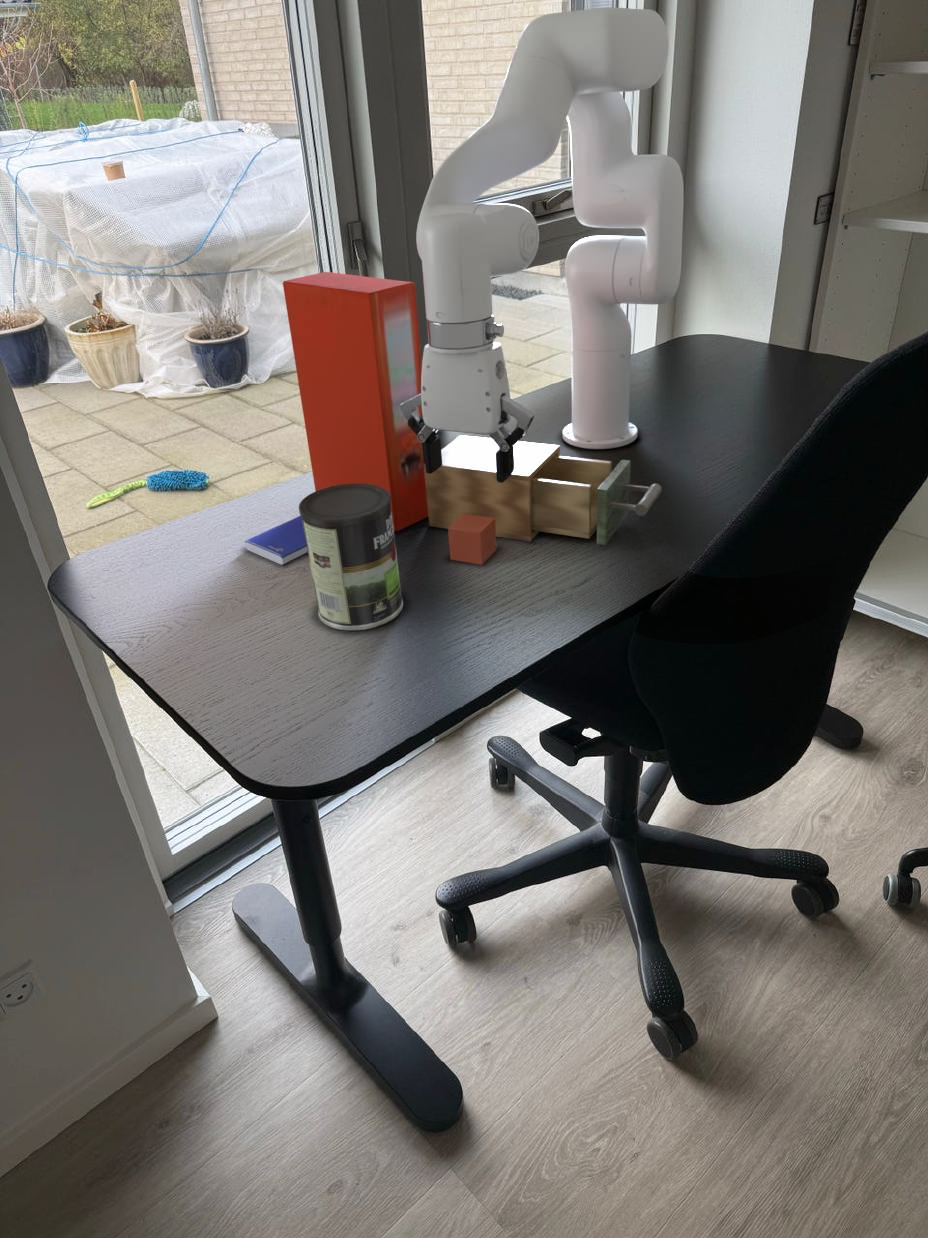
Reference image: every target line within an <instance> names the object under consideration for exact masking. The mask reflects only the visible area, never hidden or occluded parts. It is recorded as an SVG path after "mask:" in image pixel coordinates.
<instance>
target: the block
mask: <svg viewBox="0 0 928 1238" xmlns="http://www.w3.org/2000/svg"><path fill="white" fill-rule="evenodd" d="M447 533H448V546H449V557H450V561H457V562H462V563H468V564H475V565H481V566H483V565H484V563H486V561H487V560H489V558H490V557H491V556H492V555H493V554H494V553H495V552H496V551H497V548H498V547H497V536H496V529H495V518H490V517H483V516H476V515H469V514H463V515H461V516H460V517H459V518H458V519H457V520H456V521H455V522H454V523H453V524H452V525H451V526H450V527H449V528H448V529H447Z"/></svg>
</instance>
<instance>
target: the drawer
mask: <svg viewBox="0 0 928 1238" xmlns="http://www.w3.org/2000/svg"><path fill="white" fill-rule="evenodd" d="M612 462H613V461H611V460H602V459H592V458H584V457H574V456H566V455H565V456H564V455H560V456H557V455H554V456H553V457H552V458H551V459H550V460H549V461H548V462H547V463H546V464H545V465H544V466H543V467H542V468H541V469H540V470H539V471H538V472H537V473H536V474H535V475H534V476H533V477H532V478H531V479H530V480H531V508H532V530H534V531H539V532H542V533H548V534H554V535H563V536H568V537H576V538H583V539H590V538H591V537H592V536H593V534H594V533H595V532H596V545H603V546H606V545H607V544H608V542H610V540H611V539H612V537H613V535H615V532H616V531H617V530H618V529H619V527H621V524H622V523H623V521H625V519H626V517H627V516H628V515H629V512H630V511H632V512H635V514H636V515H637V516H639V517H643V516H646V515H647V514H648V512H649V511H650V509H651V508H652V506H653V505H654V503H655V502H656V501H657V499H658V498H659V496H660V495H661V493H662V491H663V488H662V486H661V485H660V484H659V483H652V484H651V485H650V486H645V485H637V484H630V483H631V482H630V480H631V460H628V459H621V460H620V461H619V463H617V465H616V466H615V468H614V469H613V470H612V467H613V466H612V464H613V463H612ZM630 491H633V492H641V493H644V494H643V495H642V496H641V498H640V499H639V501H638V502H637V504H632V503H630Z"/></svg>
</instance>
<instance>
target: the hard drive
mask: <svg viewBox="0 0 928 1238" xmlns="http://www.w3.org/2000/svg"><path fill="white" fill-rule="evenodd" d="M244 544H245V548H246V550H248V551H249V552H251V553H253V554H255V555H258V556H260V557H263V558H265V559H267V560H270V561H271V562H274V563H277V564H278V565H281V566H282V565H285V564H287V563H289V562H291V561H293V560H296V559H297V558H299V557H301V556H303V555H305V554H308V549H307V544H306V539H305V533H304V527H303V522H302V517H301V515H299V516H297V517H294V518H292V519H290V520H288V521H286V522H283V523H280V524H279V525H277V526H274V527H272V528H270V529H268V530H266V531H264V532H261V533H259V534H257V535H254V536H253V537H250V538H248V539H246V540H245V541H244Z"/></svg>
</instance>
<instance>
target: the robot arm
mask: <svg viewBox="0 0 928 1238" xmlns="http://www.w3.org/2000/svg"><path fill="white" fill-rule="evenodd" d="M516 43H517V44H516V46H515V50H514V52H513V54H512V58H511V60H510V64H509V66H508V69H507V72H506V75H505V78H504V81H503V84H502V86H501V89H500V93H499V95H498V97H497V100H496V102H495V107H494V109H493V112H492V115H491V116H490V118H489V119H488V120H487V121H485V123H484V124H482V125H481V126H479V127H478V128H477V129H476V130H475V131H473V132H472V133H471V134H470V135H469V136H468V137H467V138H465V140H464V141H462V142H461V143H460V144H459V145H458V146H457V147H456V148H455V149H454V150H453V151H452V152H451V153H450V154H448V156H447V157H446V158H445V159H444V160H443V162H442V163H441V164H440V165H439V167H438V168H437V170H436V172H435V173H434V175H433V177H432V179H431V182H430V184H429V187H428V190H427V193H426V195H425V198H424V201H423V204H422V207H421V210H420V212H419V216H418V222H417V227H416V234H415V235H416V236H415V237H416V239H415V241H416V249H417V253H418V256H419V258H420V260H421V267H422V280H423V294H424V304H425V318H426V329H427V330H426V331H427V342H428V343H427V344H425V345H424V346H423V354H422V359H421V365H422V372H421V393H420V394H418V395H416V396H414V397H412V398H410V399H408V400H406V401H405V402H403V403H401V404H400V409H401V411H402V413H403V415H404V416H405V418H406V419H407V421H408V426H409V427H410V428H411V429H412V430H413V432H414V433H415V434H416V435H417V439H418V441H419V442H421V443H422V449H423V461H424V464H426V473H429V474H431V473H433V472H434V471H436V470H437V469H438V468H440V467H441V466H442V454H441V450H442V442H441V437H440V435H439V434H438V435H437V433H438V431H445V432H453V433H463V434H473V435H484V436H485V435H489V438H492V439H493V440H494V442H495V443H496V444H497V446H498V447H499V450H497V451H496V478H497V481H498V482H500V483H503V482H504V481H505V480H506V479H507V478H508V477H510V476H511V474H512V473H513V471H514V445H515V444H516V443H517V442H518V441H521V439H522V438H523V437H524V436H526V435H527V433H528V430H529V428H530V427H531V425H532V423H533V420H534V418H535V414H534V412H533V411H531V410H529V409H528V408H527V407H525V406H523V405H522V404H521V403H518V402H517V401H515V400H514V399H512V398H511V393H510V384H509V376H508V369H507V365H506V359H505V355H504V352H503V347H502V344H501V343H500V342H498V341H497V342H496V341H495V340H496V338H503V337H504V334H505V326H504V325H503V324H499V323H497V322H495V315H493V312H494V311H493V291H492V290H493V289H492V278H494V277H503V276H504V277H505V276H506V277H507V276H513V275H516V274H519V273H521V272H523V271H524V270H525V269H527V268H528V267H529V266H530V264H531V263H532V262H533V260H534V259H535V257H536V256H537V252H538V249H539V245H540V231H539V230H540V229H539V226H538V223H537V221H536V218H535V217H534V216H533V214H532V213H531V212H530V211H529V210H527V209H526V208H525V207H523V206H520V205H518V204H513V203H475V201H476V200H478V199H479V198H480V197H481V196H482V195H484V194H485V193H486V192H488V191H489V190H492V189H493V188H495V187H497V186H499V185H500V184H503V183H506V182H507V181H510V180H513V179H514V178H517V177H520V176H521V175H523V174H526V173H528V172H530V171H531V170H533V169H535V168H537V167H540V166H541V165H542V164H544V163H545V162H547V161H548V160H549V159H550V158H551V157H552V156H553V155H554V154H555V152H556V150H557V149H558V145H559V142H560V140H561V136H562V133H563V130H564V127H565V124H566V122H568V128H569V137H570V139H569V140H570V161H571V188H572V190H571V191H572V192H571V193H572V194H571V195H572V204H573V212H574V215H575V218H576V220H577V221H578V222H579V223H580V224H581V225H582V226H585V227H589V228H597V229H641V230H642V231H643V232H644V234H645V236H641V235H639V236H638V235H591V236H588V237H584V238H581V239H579V240H578V241H576V242H575V243H574V244H573V245H572V246H571V247H570V248H569V250H568V252H567V254H566V257H565V263H564V274H565V284H566V288H567V294H568V300H569V307H570V321H571V322H570V323H571V326H570V327H571V423H569V424H567V425H566V426H564V428H563V429H562V439H563V441H564V442H565V443H567V444H568V445H570V446H574V447H576V448H581V449H588V450H609V449H615V448H621V447H625V446H627V445H630V444H631V443H634V441H635V440H636V439H637V438H638V435H639V434H638V433H639V432H638V430H639V429H638V427H637V426H636V425H635V424H634V423H632V422H629V421H630V395H631V394H630V392H631V391H630V390H631V367H632V366H631V364H632V362H631V361H632V338H633V337H632V327H631V324H630V321H629V319H628V317H627V315H626V313H625V311H624V310H623V308H622V306H621V304H629V305H651V306H653V305H654V306H655V305H663V304H666V303H668V302H670V301H671V300H672V299H673V298H675V296H676V294H677V291H678V290H679V285H680V281H681V276H682V275H681V273H682V259H683V229H684V228H683V226H684V201H685V200H684V197H685V195H684V194H685V193H684V191H685V189H684V178H683V173H682V170H681V166H680V165H679V163H678V162H677V160H676V159H674V158H673V157H671V156H670V155H667V154H660V153H659V154H657V153H656V154H653V153H652V154H634V152H633V150H632V117H631V112H630V108H629V106H628V104H627V102H626V100H625V98H624V97H623V95H622V94H621V93H623V92H624V93H627V92H628V93H629V92H637V91H643V90H649V89H650V88H652V87H653V86H655V85H656V84H657V82H658V81H659V80H660V79H661V77H662V75H663V73H664V70H665V68H666V65H667V63H668V56H669V34H668V30H667V27H666V24H665V22H664V20H663V18H662V17H661V15H660V14H659V13H658V12H657V11H655V10H654V9H650V8H647V9H646V8H645V9H644V8H629V7H616V6H615V7H614V6H613V7H599V8H590V9H580V10H579V9H578V10H569V11H562V12H554V13H553V12H552V13H548V14H543V15H541V16H538V17H536V18H535V19H533V20H531V21H530V22H529V23H528V24H527V25H526V26H525V27H524V29H523V31H522V32H521V33H520V36H519V39H518V41H517V42H516ZM421 404H422V414H423V419H422V418H421V416H419V415H418V414H417V413H418V412H417V410H416V408H417V407H418V406H420V405H421ZM512 417H513V418H514V419H515V420H516V421H517V423H516V426H515V428H514V430H513V429H511V427H510V426H509V424H508V423H510V421H511V419H512ZM512 430H513V431H512Z"/></svg>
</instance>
